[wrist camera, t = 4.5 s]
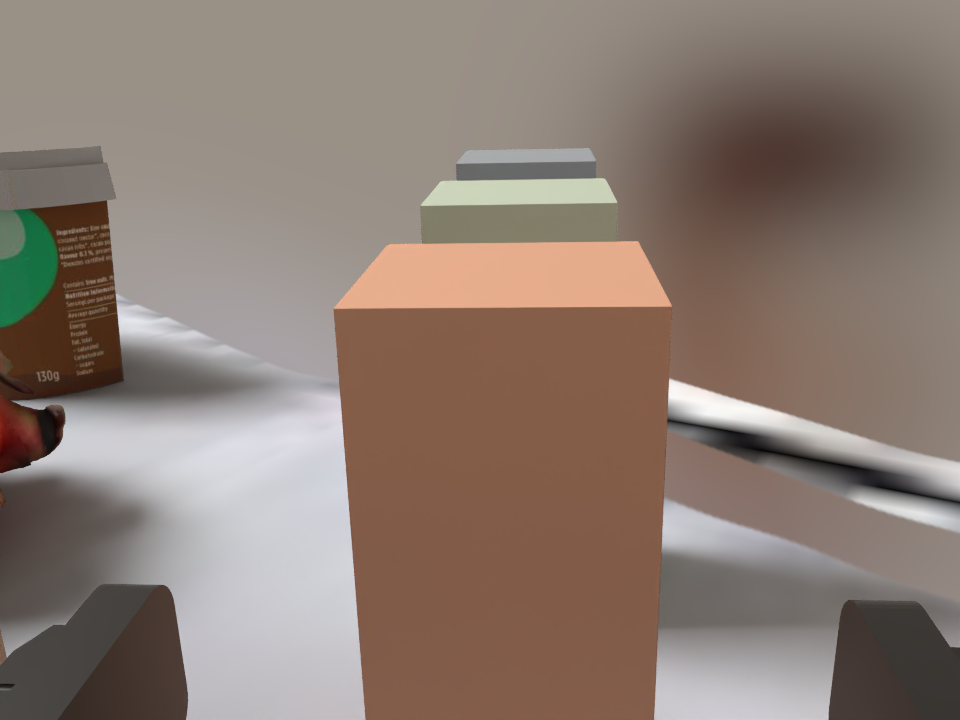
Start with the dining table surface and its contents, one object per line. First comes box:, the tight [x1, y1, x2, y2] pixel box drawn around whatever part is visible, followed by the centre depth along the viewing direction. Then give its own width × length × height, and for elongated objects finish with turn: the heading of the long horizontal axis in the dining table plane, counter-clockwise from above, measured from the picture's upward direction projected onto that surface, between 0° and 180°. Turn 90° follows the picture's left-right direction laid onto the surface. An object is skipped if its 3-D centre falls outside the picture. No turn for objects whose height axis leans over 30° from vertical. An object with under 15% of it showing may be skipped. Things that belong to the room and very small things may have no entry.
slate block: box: [456, 148, 596, 181], centre depth 29 cm, size 4×4×10 cm
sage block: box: [420, 178, 618, 244], centre depth 22 cm, size 4×4×10 cm
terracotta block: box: [334, 241, 672, 720], centre depth 14 cm, size 4×4×10 cm
